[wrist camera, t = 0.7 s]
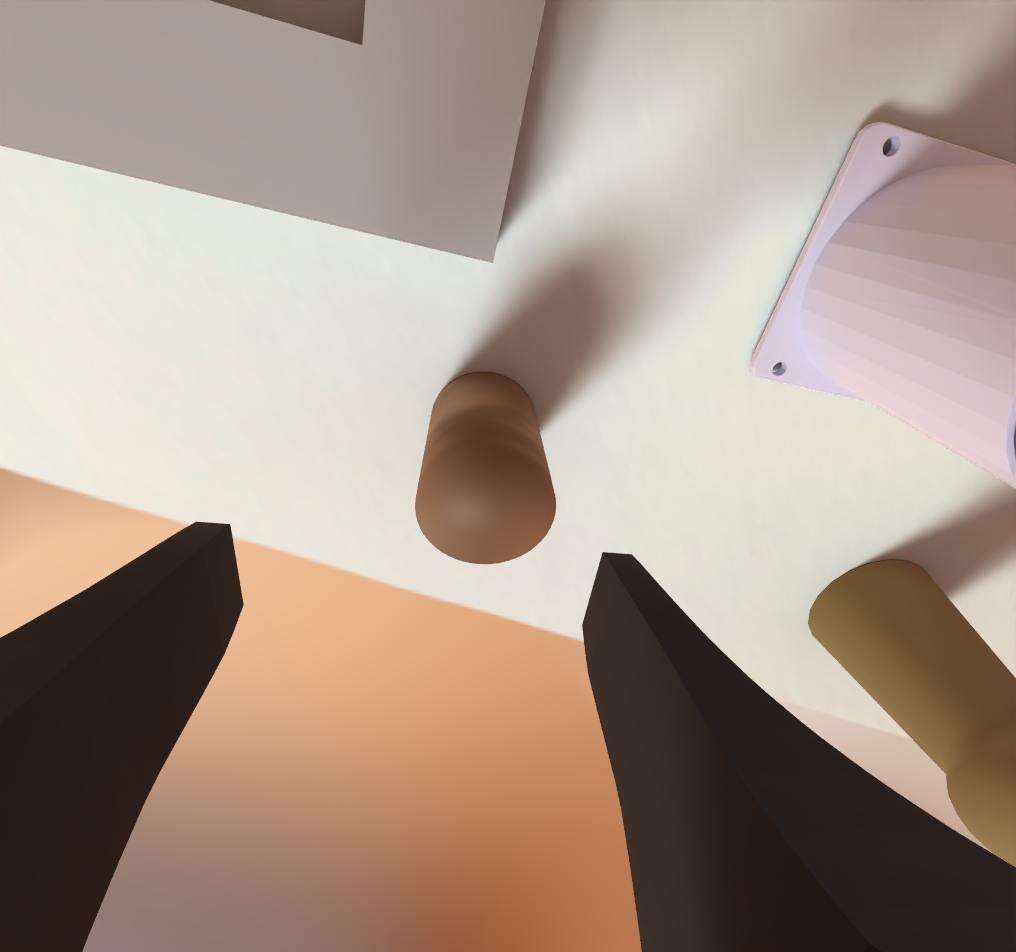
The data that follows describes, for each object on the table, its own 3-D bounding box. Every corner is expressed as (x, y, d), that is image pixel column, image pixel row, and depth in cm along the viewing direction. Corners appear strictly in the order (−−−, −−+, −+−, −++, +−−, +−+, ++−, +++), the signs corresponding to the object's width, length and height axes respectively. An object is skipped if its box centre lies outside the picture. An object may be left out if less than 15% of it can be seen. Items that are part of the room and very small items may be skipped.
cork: (854, 548, 24) (1098, 791, 15) (958, 572, 25) (1247, 812, 16) (785, 638, 27) (951, 890, 18) (881, 656, 28) (1087, 902, 19)
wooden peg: (547, 383, 19) (573, 461, 14) (521, 474, 21) (536, 572, 16) (440, 361, 19) (426, 434, 14) (424, 457, 21) (406, 553, 16)
